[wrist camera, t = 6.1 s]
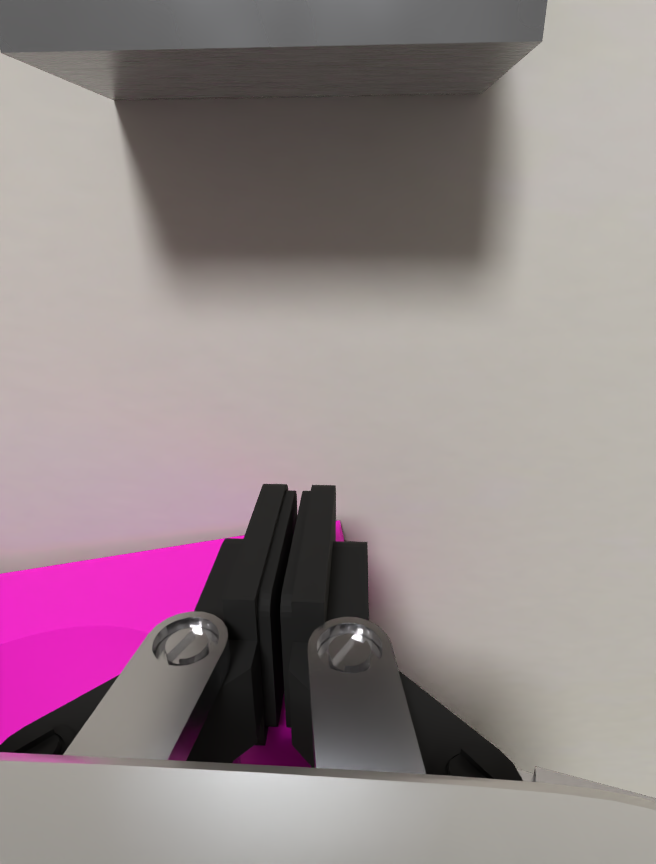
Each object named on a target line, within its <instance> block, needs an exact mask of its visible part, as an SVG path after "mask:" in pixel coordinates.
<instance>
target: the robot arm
mask: <svg viewBox="0 0 656 864" xmlns="http://www.w3.org/2000/svg"><path fill="white" fill-rule="evenodd" d="M283 696H285V716H286V727H288V728H291V735H292V745H293V747H294V748H295V749H296V750H297V751H298V752H299V753H300V754H301V756H302V757H303V758H304V759H305V760H306V761H307V762H308V763H309V765H310V766H311V768H308V767H290V766H271V765H252V764H241V758H240V756H241V755H242V754H243V753H245V752H246V751H247V750H249V749H250V748H251V747H253V746H254V745H259V746H265V745H266V739H267V733H268V728H269V727H278V725H279V721H280V715H281V709H282V702H283ZM0 864H656V798H653V797H649V796H646V795H642V794H638V793H634V792H631V791H627V790H623V789H619V788H616V787H612V786H608V785H604V784H601V783H597V782H593V781H589V780H586V779H582V778H578V777H574V776H571V775H567V774H563V773H559V772H556V771H552V770H548V769H544V768H541V767H537V766H535V770H534V774H533V773H530V772H526V771H522V770H519V769H516V767H515V766H514V764H513V763H512V762H511V761H510V760H509V759H508V758H507V757H506V756H505V755H504V754H503V753H502V752H501V751H500V750H499V749H497V748H496V747H495V746H494V745H492V744H491V743H490V742H489V741H487V740H486V739H485V738H483V737H482V736H481V735H480V734H478V733H477V732H476V731H475V730H473V729H472V728H471V727H469V726H468V725H467V724H466V723H464V722H463V721H462V720H461V719H459V718H458V717H457V716H456V715H454V714H453V713H452V712H450V711H449V710H448V709H447V708H445V707H444V706H443V705H442V704H440V703H439V702H438V701H436V700H435V699H434V698H433V697H431V696H430V695H429V694H428V693H426V692H425V691H424V690H422V689H421V688H420V687H419V686H417V685H416V684H415V683H414V682H412V681H411V680H410V679H409V678H407V677H406V676H405V675H403V674H402V673H401V672H400V671H398V667H397V663H396V660H395V656H394V652H393V648H392V645H391V642H390V640H389V638H388V636H387V634H386V633H385V632H384V631H383V630H382V629H381V628H380V627H379V626H378V625H376V624H374V623H372V622H370V621H369V608H368V555H367V542H346V541H336V487H335V486H333V485H312V488H311V491H303V492H302V497H301V501H300V506H299V511H298V516H297V494H296V491H288V486H287V484H263V486H262V489H261V491H260V494H259V497H258V500H257V503H256V505H255V508H254V511H253V514H252V517H251V519H250V522H249V525H248V528H247V531H246V533H245V536H244V539H239V538H226V539H224V541H223V543H222V545H221V547H220V550H219V552H218V555H217V557H216V559H215V562H214V564H213V567H212V569H211V571H210V574H209V576H208V579H207V581H206V583H205V586H204V588H203V591H202V593H201V595H200V598H199V600H198V603H197V605H196V607H195V610H194V611H191V612H185V613H180V614H177V615H174V616H172V617H169V618H167V619H165V620H164V621H162V622H161V623H159V624H158V625H156V626H155V627H154V628H153V630H152V631H151V632H150V633H149V634H148V635H147V637H146V638H145V639H144V641H143V642H142V644H141V645H140V646H139V648H138V649H137V651H136V652H135V654H134V655H133V656H132V658H131V659H130V661H129V662H128V663H127V665H126V666H125V668H124V669H123V671H122V672H121V673H120V674H119V675H118V676H116V677H114V678H112V679H110V680H108V681H107V682H105V683H103V684H101V685H99V686H98V687H96V688H94V689H92V690H90V691H88V692H87V693H85V694H83V695H81V696H79V697H78V698H76V699H74V700H72V701H70V702H68V703H67V704H65V705H63V706H61V707H59V708H57V709H56V710H54V711H52V712H50V713H48V714H47V715H45V716H43V717H41V718H39V719H37V720H36V721H34V722H32V723H30V724H28V725H26V726H25V727H23V728H21V729H20V730H18V731H17V732H15V733H14V734H12V735H11V736H9V737H8V738H7V739H6V740H5V741H4V742H3V743H2V744H1V745H0Z"/></svg>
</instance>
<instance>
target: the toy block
mask: <svg viewBox="0 0 656 864" xmlns="http://www.w3.org/2000/svg"><path fill="white" fill-rule="evenodd" d="M244 536H245V535H243V536H237V537H230V538H239V539H244ZM224 539H226V538H224ZM224 539H218V540H211V541H205V542H199V543H192V544H186V545H180V546H174V547H167V548H161V549H155V550H148V551H142V552H136V553H129V554H123V555H117V556H110V557H104V558H98V559H91V560H85V561H79V562H72V563H66V564H60V565H53V566H47V567H41V568H34V569H28V570H22V571H15V572H9V573H3V574H0V745H1V744H2V743H3V742H4V741H5V740H6V739H7V738H8V737H9V736H11V735H12V734H14V733H15V732H17V731H18V730H20V729H21V728H23V727H25V726H26V725H28V724H30V723H32V722H34V721H36V720H37V719H39V718H41V717H43V716H45V715H47V714H48V713H50V712H52V711H54V710H56V709H57V708H59V707H61V706H63V705H65V704H67V703H68V702H70V701H72V700H74V699H76V698H78V697H79V696H81V695H83V694H85V693H87V692H88V691H90V690H92V689H94V688H96V687H98V686H99V685H101V684H103V683H105V682H107V681H108V680H110V679H112V678H114V677H116V676H118V675H119V674H120V673H121V672H122V671H123V669H124V668H125V666H126V665H127V663H128V662H129V661H130V659H131V658H132V656H133V655H134V654H135V652H136V651H137V649H138V648H139V646H140V645H141V644H142V642H143V641H144V639H145V638H146V637H147V635H148V634H149V633H150V632H151V631H152V630H153V628H154V627H155V626H156V625H158V624H159V623H161V622H162V621H164V620H165V619H167V618H169V617H172V616H174V615H177V614H180V613H185V612H191V611H194V610H195V607H196V605H197V603H198V600H199V598H200V595H201V593H202V591H203V588H204V586H205V583H206V581H207V579H208V576H209V574H210V571H211V569H212V567H213V564H214V562H215V559H216V557H217V555H218V552H219V550H220V547H221V545H222V543H223V541H224ZM336 541H344V537H343V532H342V528H341V523H340V520H338V521H336ZM240 758H241V764H252V765H271V766H290V767H308V768H311V766H310V765H309V763H308V762H307V761H306V760H305V759H304V758H303V757H302V756H301V754H300V753H299V752H298V751H297V750H296V749H295V748H294V747H293V745H292V735H291V728H288V727H286V716H285V696H283V702H282V709H281V715H280V721H279V725H278V727H269V728H268V733H267V739H266V745H265V746H259V745H254V746H253V747H251V748H250V749H249V750H247V751H246V752H245V753H243V754H242V755H241V756H240Z"/></svg>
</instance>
